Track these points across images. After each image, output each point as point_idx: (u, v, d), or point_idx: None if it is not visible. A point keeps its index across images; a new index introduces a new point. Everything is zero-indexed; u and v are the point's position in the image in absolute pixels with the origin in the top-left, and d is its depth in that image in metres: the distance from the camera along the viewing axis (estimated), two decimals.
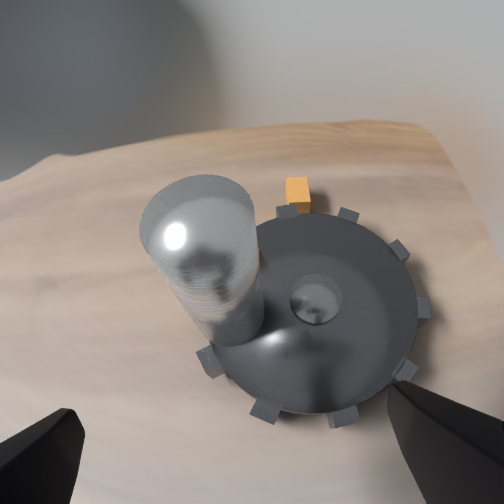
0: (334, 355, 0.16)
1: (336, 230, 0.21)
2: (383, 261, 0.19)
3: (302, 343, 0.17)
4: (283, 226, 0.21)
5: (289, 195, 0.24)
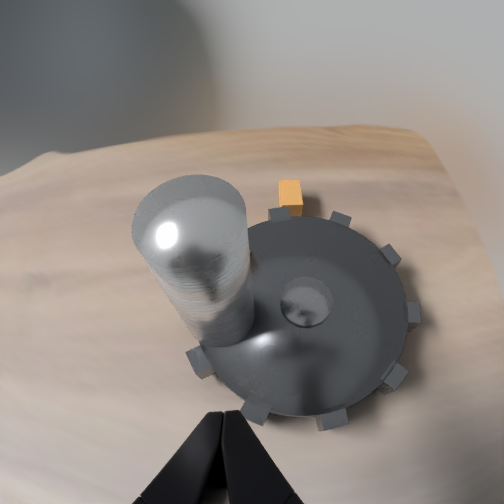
0: (323, 358, 0.17)
1: (328, 233, 0.21)
2: (374, 265, 0.19)
3: (292, 345, 0.17)
4: (275, 228, 0.21)
5: (282, 198, 0.24)
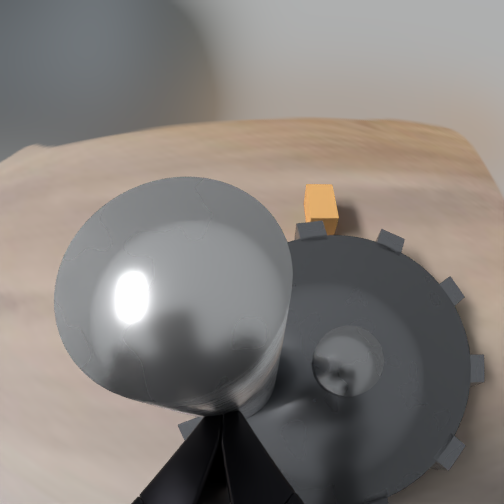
0: (366, 437, 0.11)
1: (376, 261, 0.15)
2: (434, 307, 0.13)
3: (326, 422, 0.11)
4: (306, 252, 0.15)
5: (310, 208, 0.18)
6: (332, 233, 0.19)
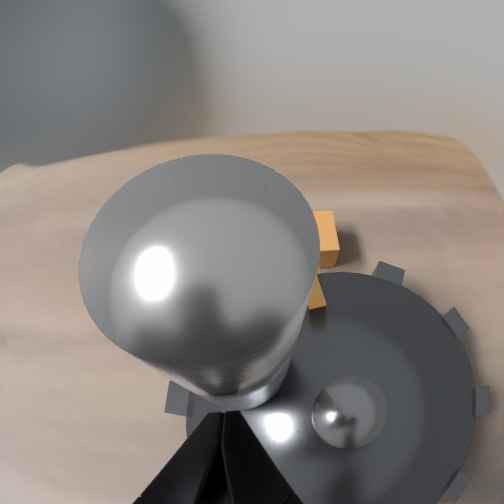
0: (320, 488, 0.10)
1: (431, 334, 0.13)
2: (457, 407, 0.11)
3: (295, 454, 0.10)
4: (373, 292, 0.14)
5: None
6: (332, 264, 0.17)
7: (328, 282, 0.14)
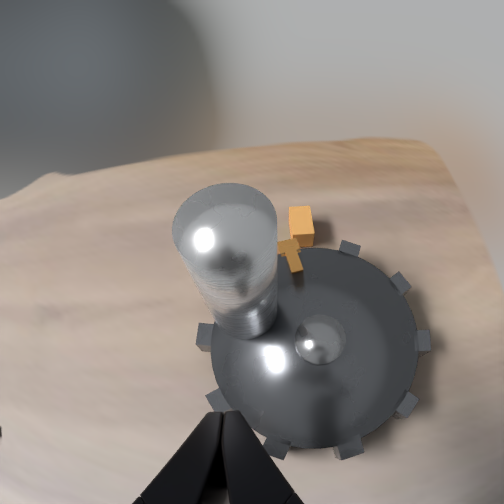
0: (302, 395, 0.17)
1: (380, 290, 0.20)
2: (402, 342, 0.18)
3: (284, 369, 0.17)
4: (336, 260, 0.21)
5: (292, 226, 0.24)
6: (311, 244, 0.24)
7: (304, 254, 0.21)
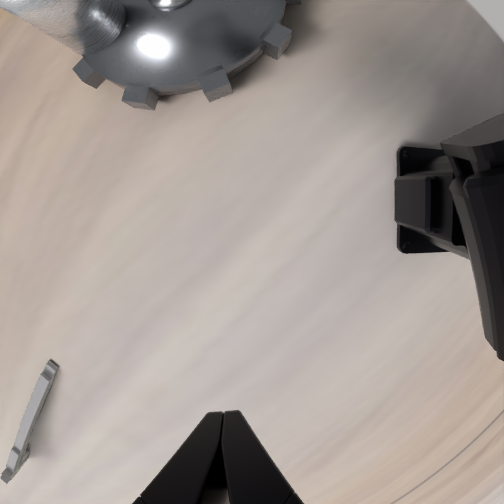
0: (195, 29, 0.14)
1: None
2: None
3: (163, 26, 0.14)
4: None
5: None
6: None
7: None
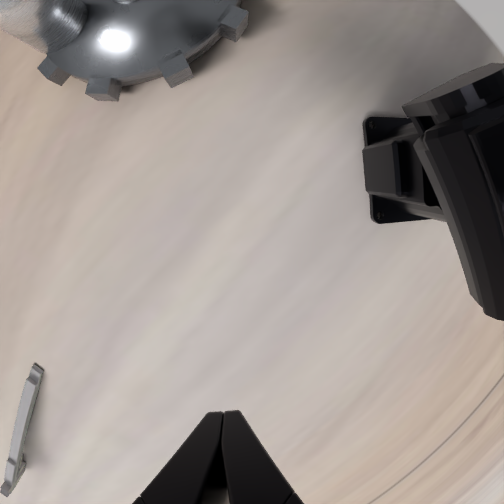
0: (153, 18, 0.13)
1: None
2: None
3: (122, 19, 0.13)
4: None
5: None
6: None
7: None
